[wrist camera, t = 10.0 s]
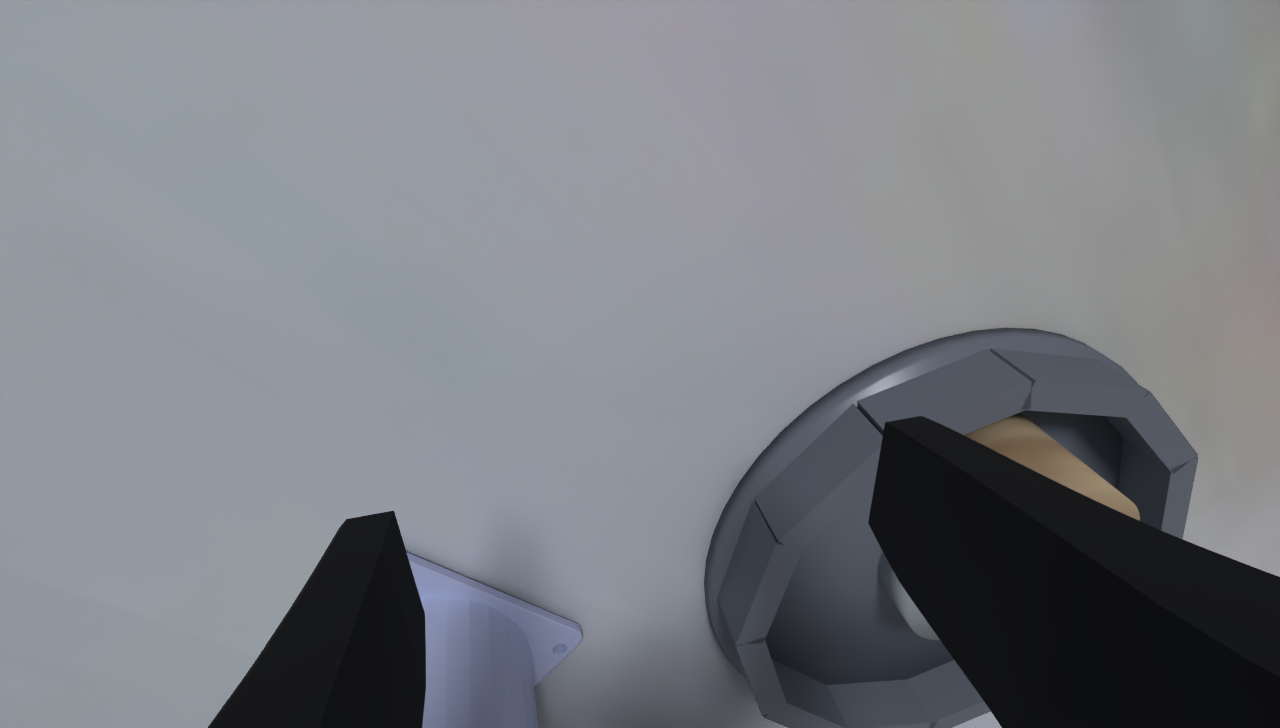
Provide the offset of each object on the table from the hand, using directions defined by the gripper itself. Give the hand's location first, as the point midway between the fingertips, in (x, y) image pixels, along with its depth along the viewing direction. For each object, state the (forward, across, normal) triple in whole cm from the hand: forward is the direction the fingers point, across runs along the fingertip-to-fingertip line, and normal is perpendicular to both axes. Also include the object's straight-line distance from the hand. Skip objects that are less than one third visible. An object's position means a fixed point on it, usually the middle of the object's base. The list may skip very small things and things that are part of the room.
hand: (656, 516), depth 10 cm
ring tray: (+9, -13, +13) cm, 20 cm away
